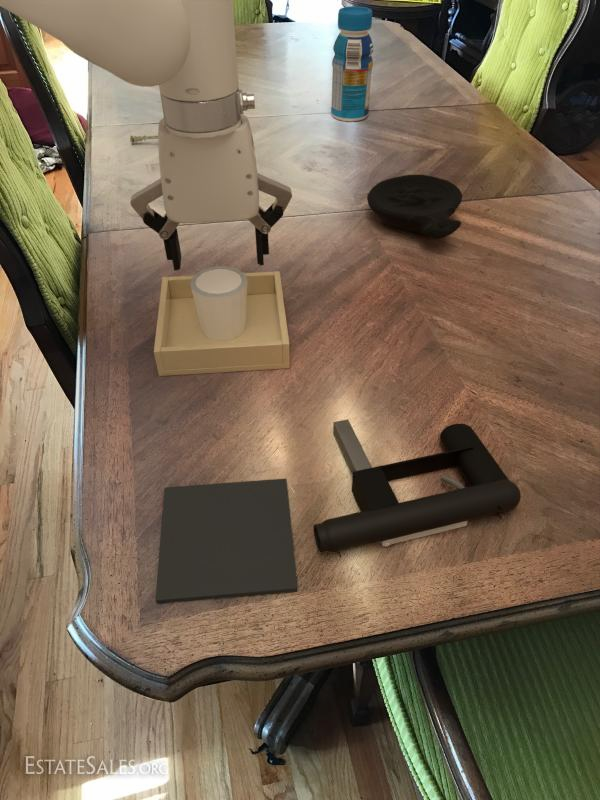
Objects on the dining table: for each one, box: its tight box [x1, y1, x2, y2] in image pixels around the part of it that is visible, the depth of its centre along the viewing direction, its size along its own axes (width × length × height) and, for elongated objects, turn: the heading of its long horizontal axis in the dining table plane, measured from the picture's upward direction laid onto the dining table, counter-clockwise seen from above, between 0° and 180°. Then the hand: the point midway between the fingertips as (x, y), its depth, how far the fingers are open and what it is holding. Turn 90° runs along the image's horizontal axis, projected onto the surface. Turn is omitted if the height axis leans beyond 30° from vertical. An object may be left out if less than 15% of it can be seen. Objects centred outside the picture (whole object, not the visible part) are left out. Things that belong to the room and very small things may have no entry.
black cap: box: [366, 174, 463, 240], centre depth 97 cm, size 15×20×5 cm
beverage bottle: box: [330, 5, 374, 122], centre depth 128 cm, size 8×8×20 cm
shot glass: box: [190, 265, 247, 341], centre depth 76 cm, size 7×7×7 cm
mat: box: [155, 478, 298, 604], centre depth 57 cm, size 12×12×1 cm
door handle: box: [313, 418, 522, 558], centre depth 61 cm, size 3×20×16 cm
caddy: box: [153, 270, 291, 377], centre depth 78 cm, size 16×16×4 cm
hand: (219, 261), depth 72 cm, fingers open, 9 cm apart
